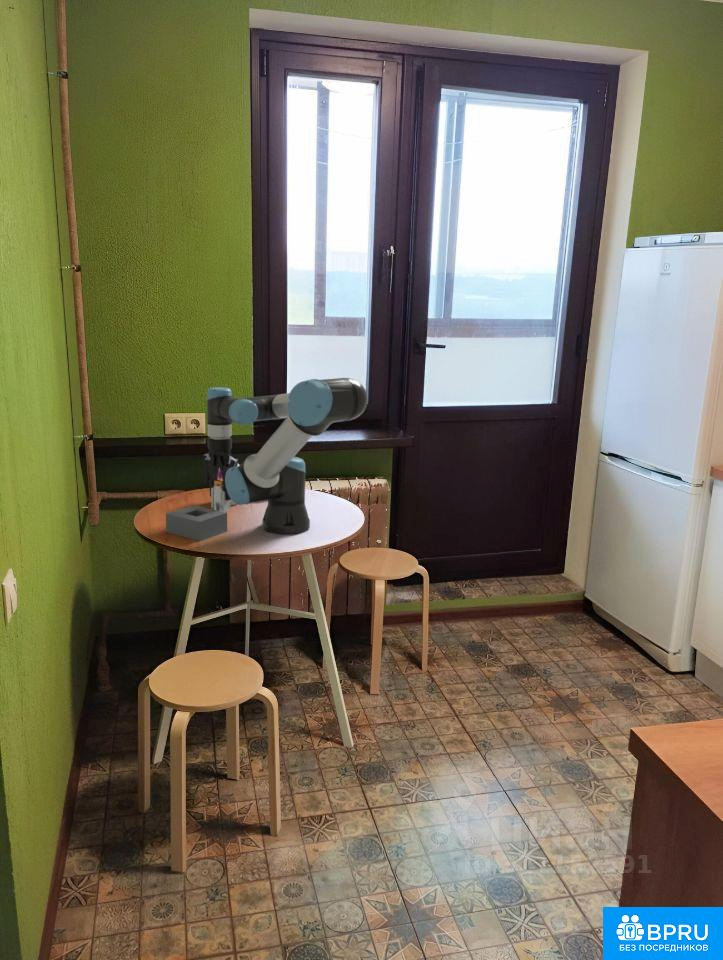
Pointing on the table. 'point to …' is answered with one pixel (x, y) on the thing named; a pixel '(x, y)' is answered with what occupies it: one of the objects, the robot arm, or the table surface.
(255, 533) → the table surface
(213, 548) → the table surface
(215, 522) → the block
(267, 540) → the table surface
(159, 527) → the table surface
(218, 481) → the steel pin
